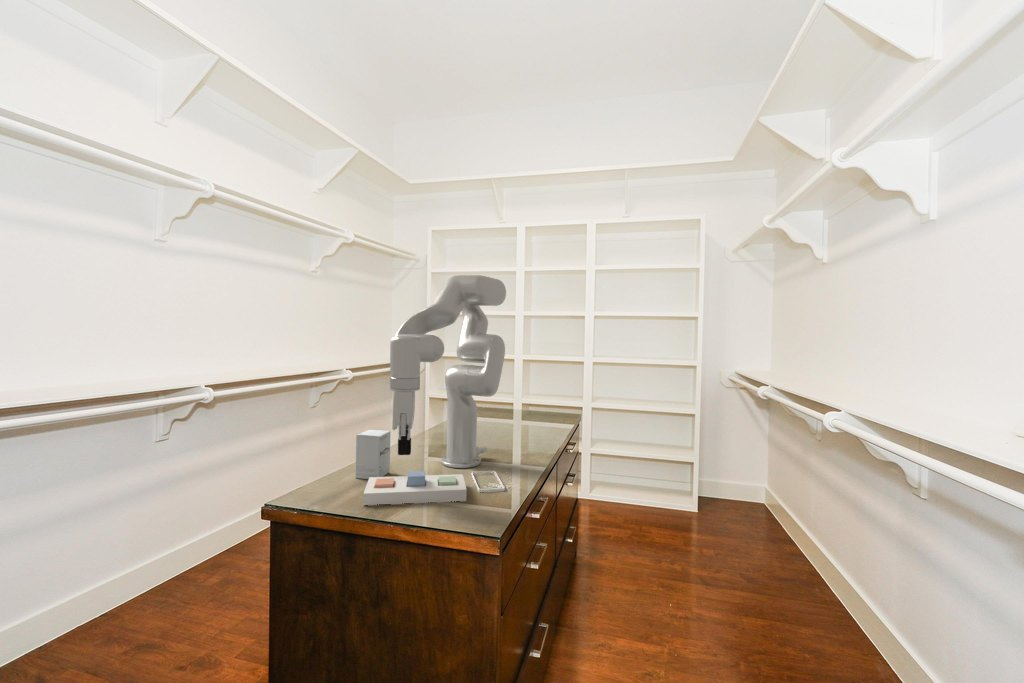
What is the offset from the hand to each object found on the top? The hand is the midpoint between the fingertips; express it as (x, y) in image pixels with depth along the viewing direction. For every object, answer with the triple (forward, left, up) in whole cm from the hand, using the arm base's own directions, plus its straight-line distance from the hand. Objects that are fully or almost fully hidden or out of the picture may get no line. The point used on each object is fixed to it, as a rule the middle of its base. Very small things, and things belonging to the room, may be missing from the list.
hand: (404, 453), depth 121 cm
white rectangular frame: (-22, +8, -11) cm, 26 cm away
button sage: (-9, +7, -10) cm, 15 cm away
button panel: (-2, +2, -11) cm, 11 cm away
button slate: (-2, +2, -8) cm, 9 cm away
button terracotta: (+4, -3, -10) cm, 11 cm away
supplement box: (-2, -19, -11) cm, 22 cm away
